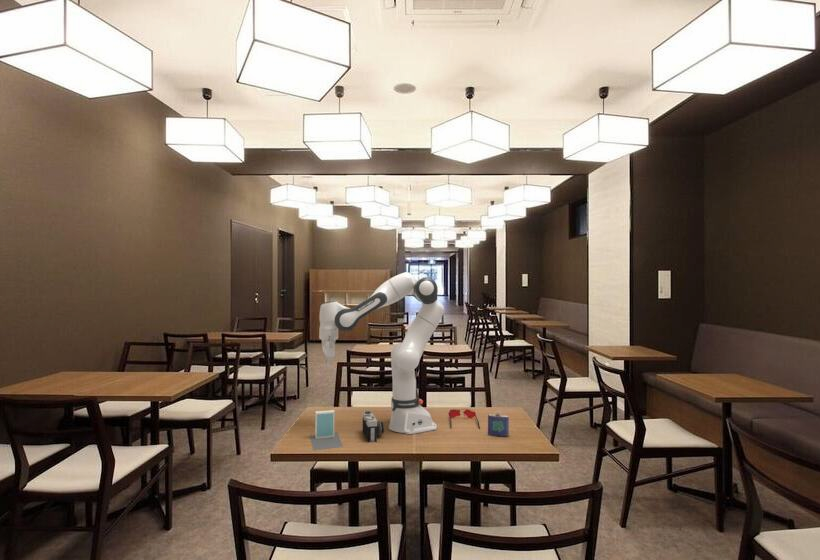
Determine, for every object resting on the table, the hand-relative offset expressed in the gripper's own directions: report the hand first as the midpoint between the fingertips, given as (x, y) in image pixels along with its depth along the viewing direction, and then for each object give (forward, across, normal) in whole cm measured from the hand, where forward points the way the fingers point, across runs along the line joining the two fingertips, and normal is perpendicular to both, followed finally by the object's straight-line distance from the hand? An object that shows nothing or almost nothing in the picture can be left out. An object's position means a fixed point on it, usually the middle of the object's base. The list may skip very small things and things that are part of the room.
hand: (328, 364), depth 205 cm
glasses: (+30, -13, -64) cm, 72 cm away
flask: (+29, -33, -72) cm, 84 cm away
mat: (+29, -20, +3) cm, 35 cm away
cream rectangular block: (+29, -15, +3) cm, 32 cm away
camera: (+30, -20, -18) cm, 40 cm away
